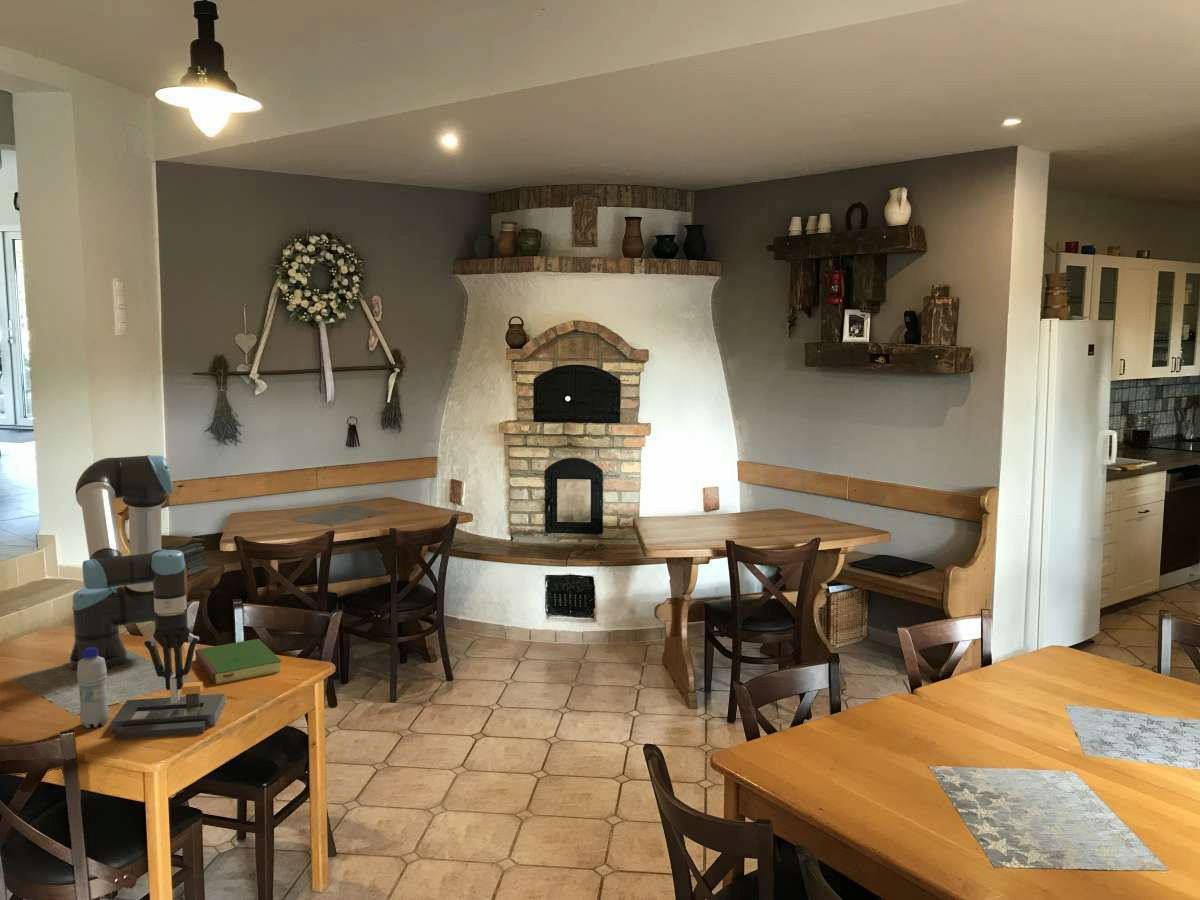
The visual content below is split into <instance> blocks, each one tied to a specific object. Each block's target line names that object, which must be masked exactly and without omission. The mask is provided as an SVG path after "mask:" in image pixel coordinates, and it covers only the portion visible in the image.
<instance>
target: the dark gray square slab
mask: <svg viewBox="0 0 1200 900" xmlns="http://www.w3.org/2000/svg"><path fill="white" fill-rule="evenodd" d="M206 729H207V726H206V721H192V722H179V723H165V724H151V725H137V726H123V727H119V728H118V729H117V731H116V732H115V733H114V740H115V741H119V740H122V741H123V740H130V739H131V740H132V739H135V740H137V739H148V738H149V739H150V738H159V737H174V736H175V737H176V736H188V735H199V734H200V735H201V734H204V732H205V731H206Z"/></svg>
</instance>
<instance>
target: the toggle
mask: <svg viewBox="0 0 1200 900" xmlns="http://www.w3.org/2000/svg"><path fill="white" fill-rule="evenodd" d="M203 690H204V682H203V681H193V682H189V681H188V682H183V686H182V689H181V695H183V696H184V695H185V696H186V708H194V707H201V705H200V695H201V693H202V692H203Z"/></svg>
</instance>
